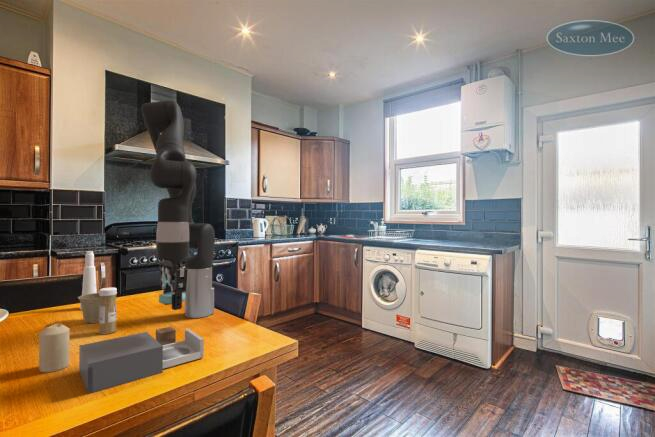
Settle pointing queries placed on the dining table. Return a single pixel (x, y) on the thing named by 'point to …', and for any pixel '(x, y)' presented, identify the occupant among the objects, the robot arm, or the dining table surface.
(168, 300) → the teal flattened disc
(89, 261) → the cosmetic bottle
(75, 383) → the dining table surface
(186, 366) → the dining table surface
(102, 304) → the sprinkles bottle
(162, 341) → the block
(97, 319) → the flower pot
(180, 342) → the tray
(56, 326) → the candle
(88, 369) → the block
